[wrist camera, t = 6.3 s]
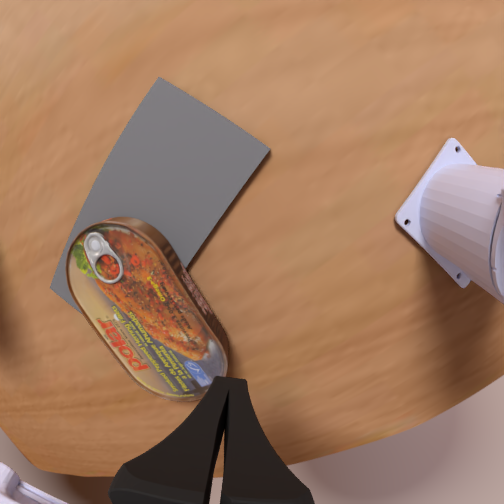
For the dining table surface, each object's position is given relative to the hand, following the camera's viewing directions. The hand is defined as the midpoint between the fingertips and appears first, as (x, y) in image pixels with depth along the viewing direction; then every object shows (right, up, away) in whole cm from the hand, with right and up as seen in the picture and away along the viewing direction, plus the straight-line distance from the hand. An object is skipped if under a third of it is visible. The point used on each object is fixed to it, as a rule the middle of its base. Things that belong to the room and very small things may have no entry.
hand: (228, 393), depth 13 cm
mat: (-7, +8, +9) cm, 14 cm away
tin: (-3, +4, +8) cm, 9 cm away
